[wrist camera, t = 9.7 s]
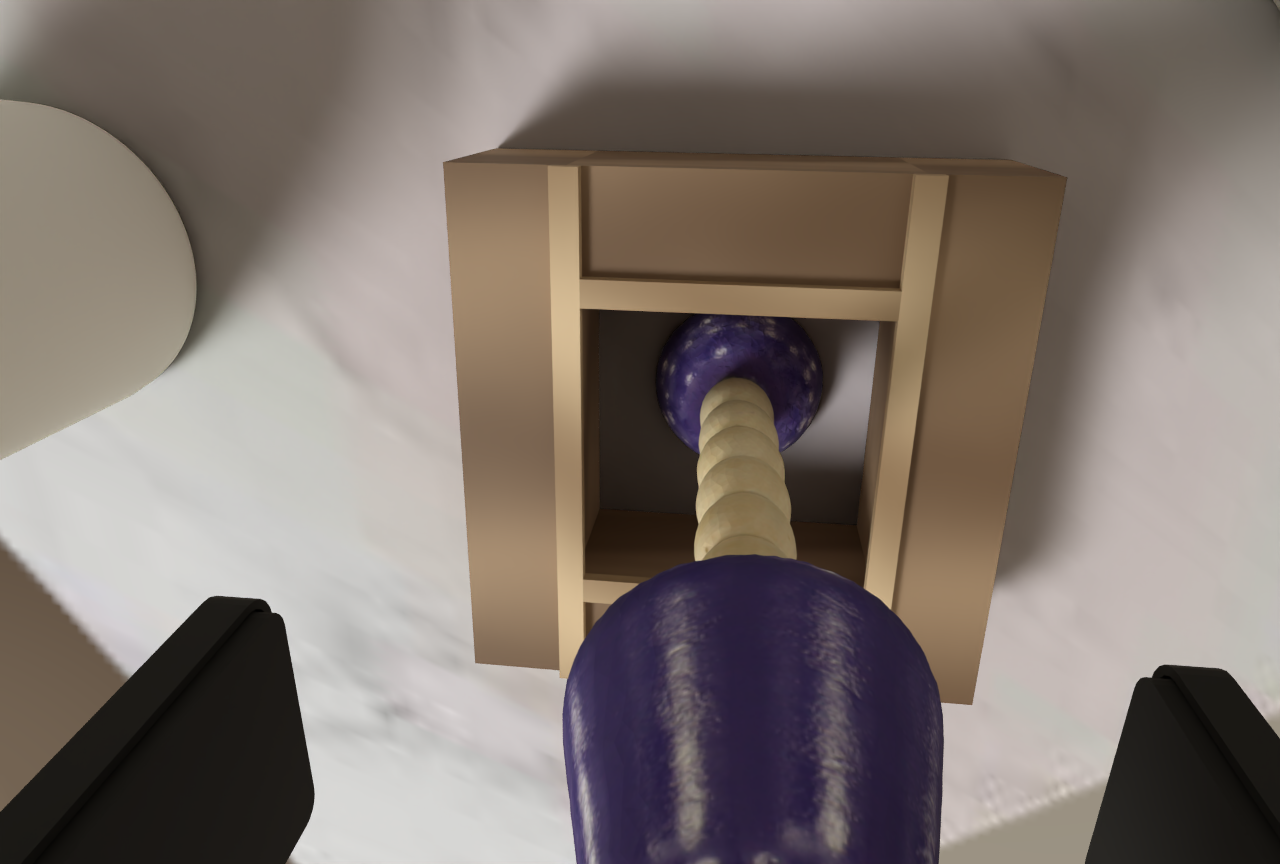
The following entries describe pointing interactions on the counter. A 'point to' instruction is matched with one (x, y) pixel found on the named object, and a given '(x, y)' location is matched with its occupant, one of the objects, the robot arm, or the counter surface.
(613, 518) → the tan wooden square frame
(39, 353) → the pill bottle
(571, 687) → the toy lamp
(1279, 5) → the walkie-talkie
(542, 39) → the counter surface
